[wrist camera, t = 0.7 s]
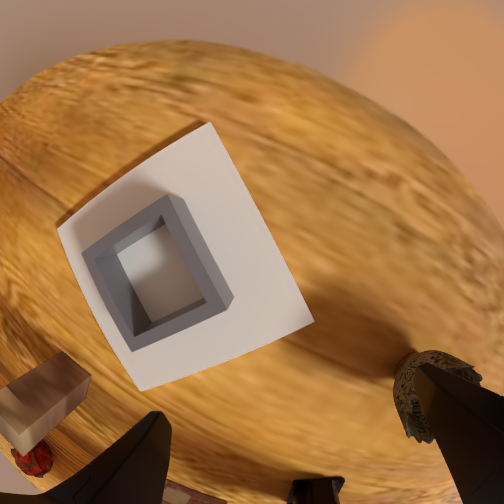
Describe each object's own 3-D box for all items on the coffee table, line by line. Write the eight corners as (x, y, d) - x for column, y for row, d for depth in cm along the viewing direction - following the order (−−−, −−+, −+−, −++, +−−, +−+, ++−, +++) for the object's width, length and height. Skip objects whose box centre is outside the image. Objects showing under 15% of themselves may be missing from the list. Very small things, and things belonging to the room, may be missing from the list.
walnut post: (91, 374, 24) (19, 435, 11) (85, 398, 25) (23, 456, 12) (62, 350, 24) (-14, 398, 12) (58, 376, 25) (-8, 423, 12)
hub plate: (312, 317, 22) (322, 338, 18) (144, 386, 24) (125, 410, 19) (212, 125, 21) (199, 104, 17) (63, 228, 23) (33, 230, 19)
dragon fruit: (41, 451, 30) (49, 423, 30) (56, 486, 25) (65, 462, 25) (7, 448, 23) (8, 418, 24) (19, 485, 18) (21, 461, 19)
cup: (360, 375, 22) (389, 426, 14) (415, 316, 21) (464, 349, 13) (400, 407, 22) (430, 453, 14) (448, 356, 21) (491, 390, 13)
